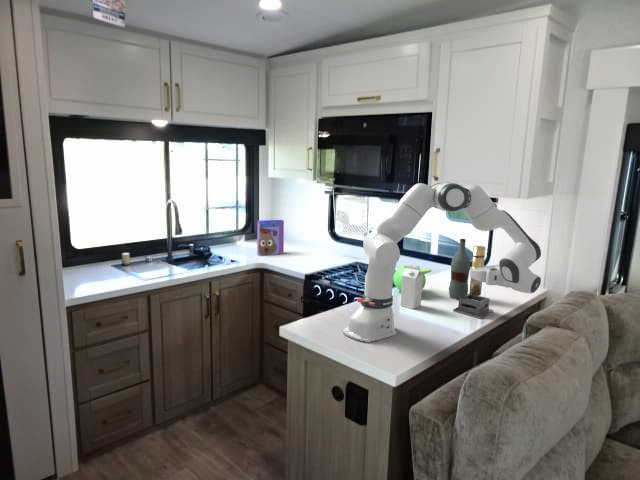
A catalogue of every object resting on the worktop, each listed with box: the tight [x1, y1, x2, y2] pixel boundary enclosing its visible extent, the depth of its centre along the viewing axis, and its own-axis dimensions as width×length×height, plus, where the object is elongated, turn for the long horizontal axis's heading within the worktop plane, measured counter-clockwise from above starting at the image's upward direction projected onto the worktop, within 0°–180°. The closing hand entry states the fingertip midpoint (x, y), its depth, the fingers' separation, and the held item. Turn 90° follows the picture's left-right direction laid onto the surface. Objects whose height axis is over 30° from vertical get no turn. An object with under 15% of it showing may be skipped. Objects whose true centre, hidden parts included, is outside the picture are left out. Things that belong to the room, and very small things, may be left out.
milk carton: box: [399, 265, 423, 310], centre depth 206 cm, size 7×7×19 cm
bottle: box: [448, 238, 471, 301], centre depth 219 cm, size 9×9×30 cm
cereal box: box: [256, 219, 285, 257], centre depth 303 cm, size 17×5×24 cm, turn 113°
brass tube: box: [468, 245, 486, 296], centre depth 198 cm, size 5×5×22 cm
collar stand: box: [453, 293, 494, 320], centre depth 201 cm, size 13×13×6 cm
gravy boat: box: [393, 264, 433, 292], centre depth 227 cm, size 18×17×15 cm
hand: (475, 268), depth 198 cm, fingers closed on brass tube, 5 cm apart
